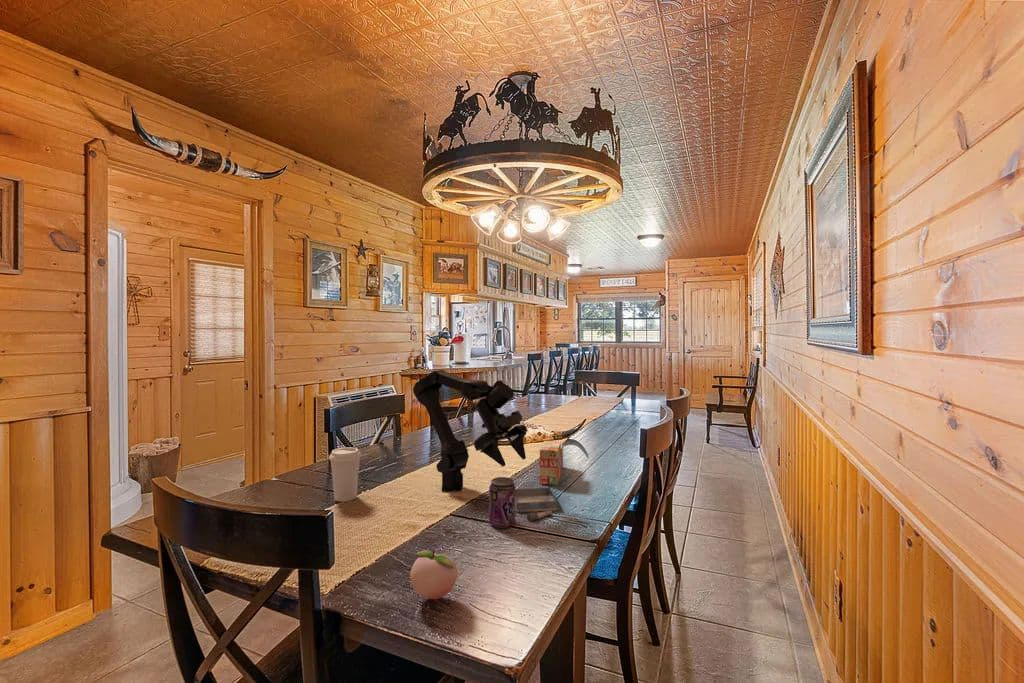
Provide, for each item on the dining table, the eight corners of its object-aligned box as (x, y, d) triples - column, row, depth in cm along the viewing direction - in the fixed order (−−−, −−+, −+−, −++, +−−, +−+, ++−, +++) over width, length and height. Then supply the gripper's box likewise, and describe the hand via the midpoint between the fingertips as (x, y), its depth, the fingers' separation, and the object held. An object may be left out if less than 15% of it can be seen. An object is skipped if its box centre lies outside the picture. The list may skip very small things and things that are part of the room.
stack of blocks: (547, 466, 182) (547, 434, 182) (563, 467, 181) (563, 435, 180) (539, 484, 161) (539, 448, 161) (557, 485, 160) (557, 449, 159)
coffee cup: (367, 497, 148) (367, 450, 148) (338, 506, 141) (337, 456, 141) (352, 490, 155) (351, 445, 154) (323, 498, 148) (323, 450, 147)
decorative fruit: (400, 606, 91) (400, 555, 90) (423, 584, 98) (423, 537, 98) (443, 617, 87) (443, 564, 87) (463, 594, 95) (463, 545, 95)
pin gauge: (531, 522, 130) (531, 515, 130) (526, 520, 131) (526, 513, 131) (553, 515, 134) (553, 508, 134) (548, 513, 136) (548, 506, 136)
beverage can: (496, 531, 124) (496, 486, 123) (485, 521, 130) (485, 478, 130) (519, 526, 127) (519, 482, 127) (507, 517, 133) (507, 475, 133)
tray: (516, 511, 137) (516, 503, 137) (511, 496, 149) (511, 489, 149) (557, 510, 138) (557, 501, 138) (549, 495, 151) (549, 487, 150)
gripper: (484, 406, 133) (510, 456, 127) (526, 399, 147) (551, 443, 141) (463, 426, 139) (486, 474, 133) (505, 417, 153) (528, 460, 147)
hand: (514, 462), depth 138 cm, fingers open, 9 cm apart
